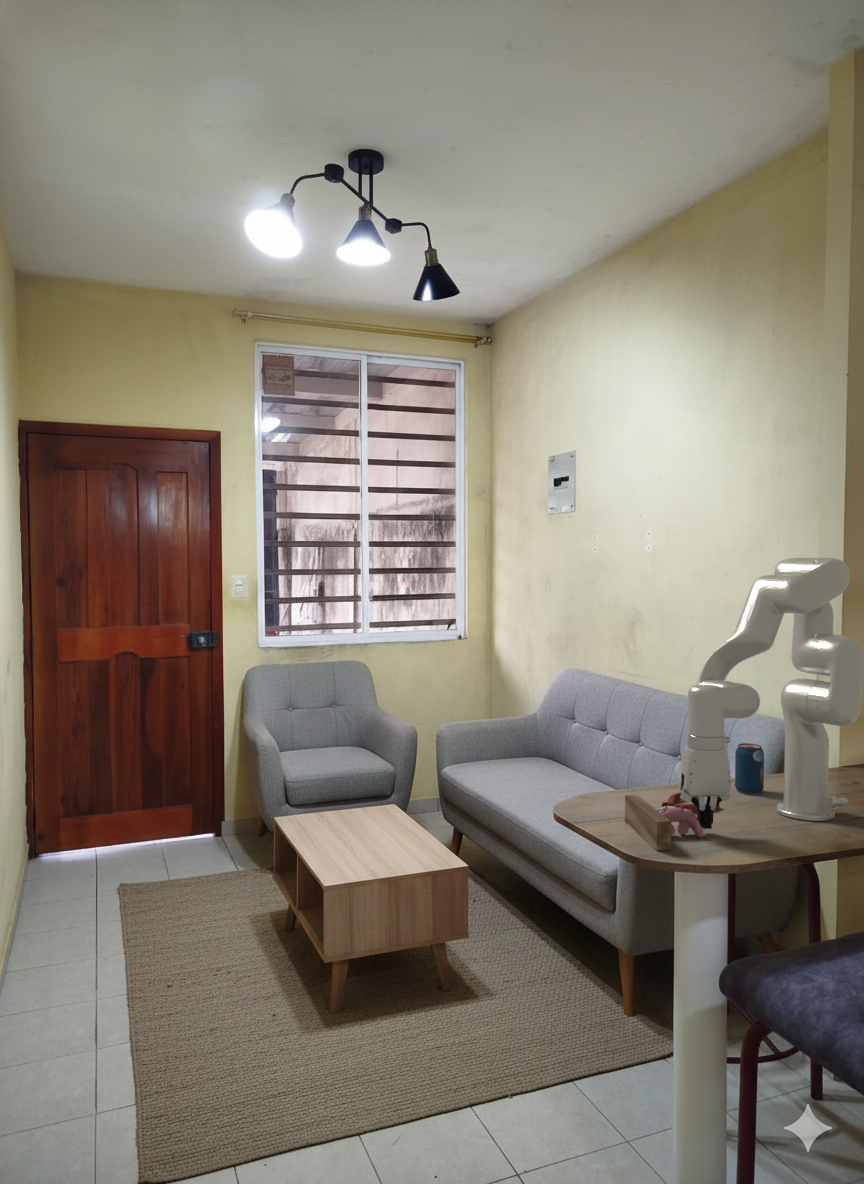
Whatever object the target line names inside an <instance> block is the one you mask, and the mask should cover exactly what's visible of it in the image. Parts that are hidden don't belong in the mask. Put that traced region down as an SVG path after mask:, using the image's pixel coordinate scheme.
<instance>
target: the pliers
mask: <svg viewBox="0 0 864 1184" xmlns="http://www.w3.org/2000/svg"><path fill="white" fill-rule="evenodd" d="M680 796H681V792H678V793H674V794H671V795H670V796H669V797H668V798H667V801H664V802H662V803H661V807H658V808H657V809H656V810H658V811H660V810H663V809H666V808H676V807H677V808H683V809H690V810H691V812H693V813H694V814H697V807H696V806H695V805H694V804H693V803H683V804H679V803H678V801H679V802H682V801H683V800H682V799H681V798H680ZM681 800H682V801H681ZM675 802H676V803H677V804H676V803H675ZM720 806H721V805H720V803H719V804H718V805H717V806H716V809H715V810H713V812H715V811H717V810H719V809H720Z"/></svg>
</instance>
